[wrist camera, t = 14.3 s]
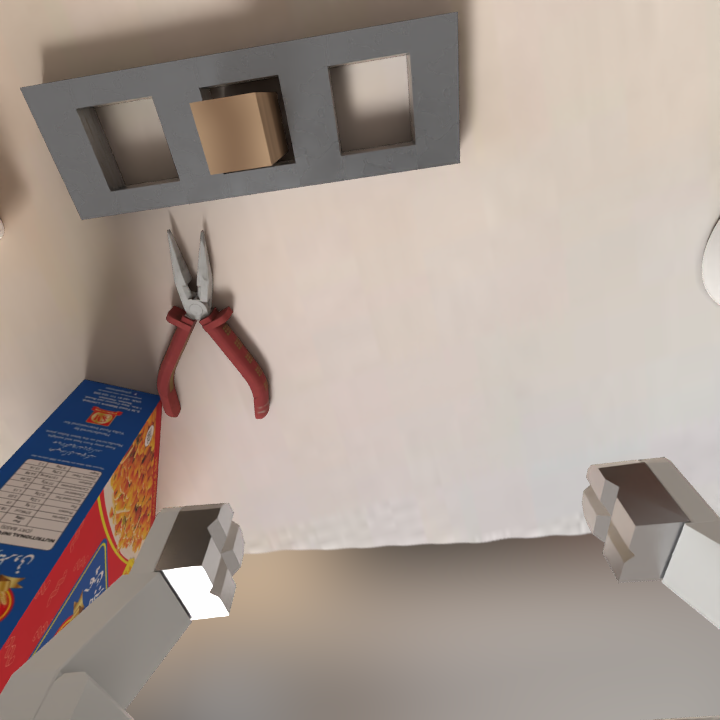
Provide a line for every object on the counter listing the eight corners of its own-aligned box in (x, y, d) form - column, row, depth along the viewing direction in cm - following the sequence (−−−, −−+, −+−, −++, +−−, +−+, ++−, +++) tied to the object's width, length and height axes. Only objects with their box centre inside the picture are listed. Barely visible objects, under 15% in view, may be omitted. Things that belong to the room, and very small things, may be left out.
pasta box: (153, 549, 61) (23, 841, 37) (93, 539, 60) (-81, 835, 36) (162, 396, 47) (-37, 708, 23) (84, 379, 46) (-210, 690, 22)
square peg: (276, 92, 32) (255, 92, 25) (288, 150, 34) (271, 165, 27) (224, 100, 32) (189, 103, 26) (239, 158, 35) (210, 174, 28)
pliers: (255, 228, 38) (248, 236, 36) (273, 409, 49) (268, 424, 46) (123, 224, 38) (108, 232, 35) (170, 406, 48) (161, 421, 46)
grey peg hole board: (450, 17, 30) (457, 11, 28) (453, 158, 35) (460, 163, 32) (42, 88, 32) (19, 87, 30) (97, 212, 37) (81, 219, 34)
